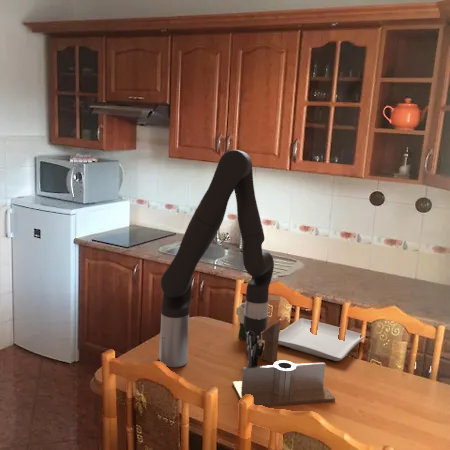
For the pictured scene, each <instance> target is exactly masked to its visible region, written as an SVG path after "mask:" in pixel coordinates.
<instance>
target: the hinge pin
mask: <svg viewBox="0 0 450 450" xmlns="http://www.w3.org/2000/svg"><path fill="white" fill-rule="evenodd" d="M252 346H255V345H252ZM247 367H251V348H250V345H249V360H248V359H247Z"/></svg>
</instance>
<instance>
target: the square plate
mask: <svg viewBox="0 0 450 450" xmlns="http://www.w3.org/2000/svg"><path fill="white" fill-rule="evenodd" d="M297 320H298V322H297ZM297 320H295V321H294V322H292V323H291V324H290V325H288V326H287V327H285V328H284V329H282V330H280V331H279V339H278V345H281V346H284V347H287V348H290V349H292V350H295V351H298V352H302V353H306V354H309V355H313V356H316V357H320V358H323V359H326V360H327V359H328V360H331V361H334V362H340V361H341V360H343V359H344V358H345V357H347V355H348V354H349V353H350V352H351V350H352V349H354V348H355V347H356V346H357V345H359V343H361V342H362V341H363V339H364V337H361V338H360V335H361V334H362V333H360V332H356V331H353V330H350V329H346V335H345V341H343V340H339V339H338V335H339V328H340V327H339V326H335V325H331V324H328V323H324V322H319V321H318V322H319V323H318V330H317V335H314V334H312V333H311V332H310V328H311V321H313V320H311V319H307V318H303V317H302V318H301V317H300V318H298V319H297Z"/></svg>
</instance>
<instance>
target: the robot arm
mask: <svg viewBox="0 0 450 450" xmlns="http://www.w3.org/2000/svg"><path fill="white" fill-rule="evenodd" d="M218 160H219V161H218V164H217V165H216V169H215V171H214V174H213V176H212V179H211V182H210V184H209V186H208V188H207V190H206V192H205V193H204V194H203V197H202V198H201V200H200V202H199V204H198V206H197V207H196V209H195V211H194V212H193V214H192V216H191V219H190V221H189V223H188V225H187V226H186V229H185V232H184V234H183V236H182V239H181V243H180V244H179V247H178V250H177V252H176V255H175V256H174V258H173V259H172V261H171V263H170V265H169V266H168V267H167V268H166V269H165V271H164V272H163V274H162V276H161V278H160V287H161V290H162V293H163V294H162V296H163V297H162V302H161V307H160V308H161V311H160V332H159V343H158V348H159V349H158V360H160V361H161V362H163V363H164V364H166V365H167V366H168V367H167V366H166V367H167V368H180V367H183V366H185V365H187V363H188V357H189V356H188V351H189V350H188V349H189V346H188V345H189V329H190V328H189V325H190V308H191V307H190V306H191V302H192V301H191V300H192V285H193V284H192V282H193V281H192V280H193V279H192V277H193V275H194V273H195V270H196V268H197V266H198V264H199V262H200V260H201V259H202V258H203V256H204V255H205V253H206V251H208V249H209V247H210V246H211V244H212V242H213V240H214V239H215V237H216V236H217V234H218V232H219V230H220V228H221V226H222V223H223V222H224V218H225V215H226V211H227V209H228V208H227V207H228V204H229V200H230V199H231V196H232V194H233V192H234V195H235V200H236V211H237V212H236V214H237V222H238V228H239V231H240V237H241V240H242V261H243V266H244V269H245V271H246V273H247V274H248V275H250V277H251V278H250V280H249V282H248V283H247V284H246V289H245V290H246V291H245V292H246V293H245V302H244V303H245V309H244V328H245V332H246V340H245V345H246V350H247V349H248V354H247V361H248V360H249V345H250V348H251V367H258V365H259V358H258V357H261V355H262V351H263V348H264V344H265V342H262V341H263V340H262V334H261V333H263V332H264V331H265V330H267V329H268V317H269V315H268V314H269V294H270V293H269V291H270V290H269V288H270V285H271V281H272V277H273V273H274V268H275V267H274V266H275V262H274V257H273V256H272V254H271V253H270V252H269V251H267V250H263V247H262V246H263V243H264V242H265V234H264V233H265V232H264V228H263V225H262V220H261V217H260V215H261V214H260V211H259V208H258V204H257V198H256V194H255V193H256V192H255V185H254V177H253V175H254V174H253V173H254V172H253V161H252V159H251V157H250V155H249V154H248V153H246V152H245V151H242V150H238V149H231V150H227V151H226V152H224V153H223V154H222V156H221V157H220V159H218ZM252 345H255V346H252ZM247 346H248V348H247ZM160 361H159V362H160Z"/></svg>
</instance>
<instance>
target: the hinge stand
mask: <svg viewBox="0 0 450 450" xmlns="http://www.w3.org/2000/svg"><path fill="white" fill-rule="evenodd" d="M325 372H326V363H325V362H313V363H294V362H292V361H288V360H276V361H274V362H273V365H262V366H261V365H260V366H257V367H248V366H244V367H242V376H241V378H242V379H241V380H239V381H237V380H236V381H232V387H233V388H234V390H235V392H236V394H237V397H238V398H239V400H240V399H241V398H242V397H243V396H244V395H245V394H251V395H253V397H254V404H255V405H263V406H266V407H265V408H267V407H270V408H271V407H281V406H283V407H284V406H295V405H307V404H319V403H320V404H321V403H333V402H336V398H335V396H334V395H333V394H332V393H331V392H330V390H329V389H328V388H327V387H326V385H325V383H324V380H325Z"/></svg>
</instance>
